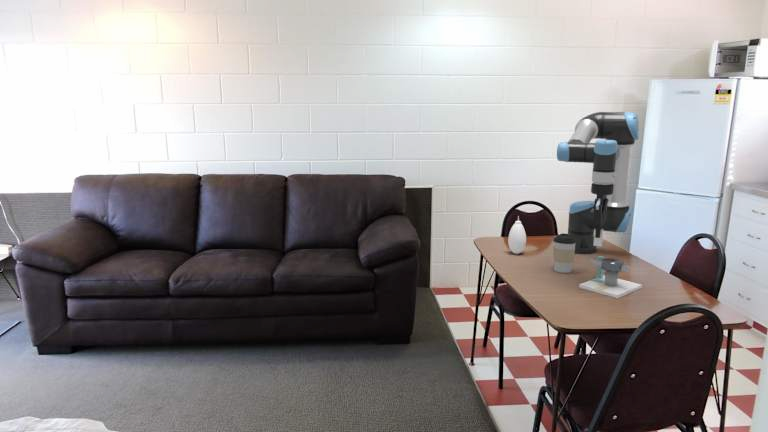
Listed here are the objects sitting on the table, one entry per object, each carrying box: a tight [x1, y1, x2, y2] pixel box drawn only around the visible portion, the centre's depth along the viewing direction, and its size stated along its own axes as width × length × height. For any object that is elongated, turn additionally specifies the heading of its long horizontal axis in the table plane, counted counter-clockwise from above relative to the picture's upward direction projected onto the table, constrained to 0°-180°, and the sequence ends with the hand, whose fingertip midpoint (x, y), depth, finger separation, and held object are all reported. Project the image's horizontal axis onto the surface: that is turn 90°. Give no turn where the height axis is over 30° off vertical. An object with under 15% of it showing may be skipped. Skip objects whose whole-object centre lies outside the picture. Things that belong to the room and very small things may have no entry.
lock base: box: [578, 255, 643, 299], centre depth 198 cm, size 18×15×10 cm
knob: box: [589, 257, 631, 273], centre depth 198 cm, size 15×8×3 cm, turn 42°
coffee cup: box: [552, 233, 576, 274], centre depth 219 cm, size 9×9×15 cm
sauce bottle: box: [507, 215, 527, 255], centre depth 243 cm, size 8×8×18 cm
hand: (597, 245), depth 197 cm, fingers closed
